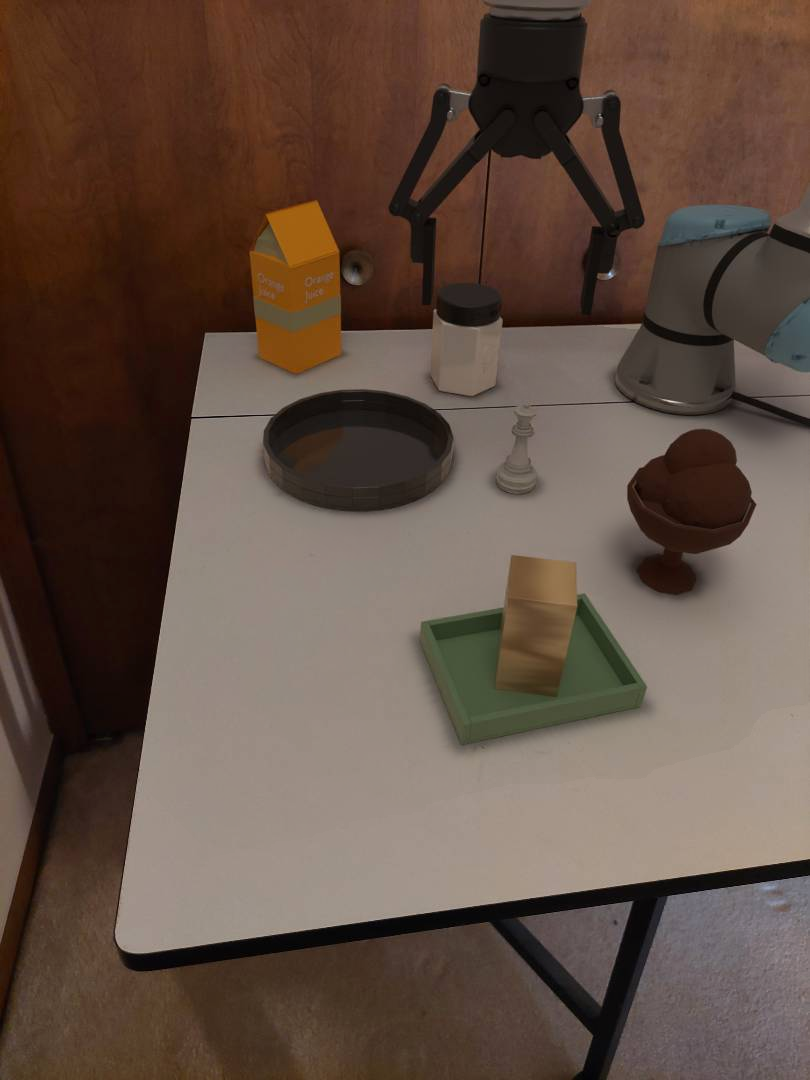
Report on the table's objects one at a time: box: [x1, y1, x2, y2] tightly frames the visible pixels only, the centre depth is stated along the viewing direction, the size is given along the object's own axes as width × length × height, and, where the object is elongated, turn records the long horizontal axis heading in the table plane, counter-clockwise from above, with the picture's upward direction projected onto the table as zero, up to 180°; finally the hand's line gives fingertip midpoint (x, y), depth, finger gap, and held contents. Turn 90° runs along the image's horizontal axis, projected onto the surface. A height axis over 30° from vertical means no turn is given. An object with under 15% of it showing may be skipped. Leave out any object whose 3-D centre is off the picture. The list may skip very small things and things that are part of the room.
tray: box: [419, 592, 648, 746], centre depth 66 cm, size 15×11×2 cm
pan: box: [262, 388, 455, 512], centre depth 91 cm, size 21×21×3 cm
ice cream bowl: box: [626, 428, 758, 596], centre depth 72 cm, size 11×11×15 cm
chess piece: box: [495, 401, 538, 495], centre depth 85 cm, size 4×4×10 cm
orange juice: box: [249, 199, 342, 375], centre depth 105 cm, size 8×9×20 cm
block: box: [495, 554, 578, 697], centre depth 63 cm, size 5×5×10 cm
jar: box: [429, 282, 504, 397], centre depth 103 cm, size 9×8×12 cm
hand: (505, 304), depth 69 cm, fingers open, 13 cm apart
